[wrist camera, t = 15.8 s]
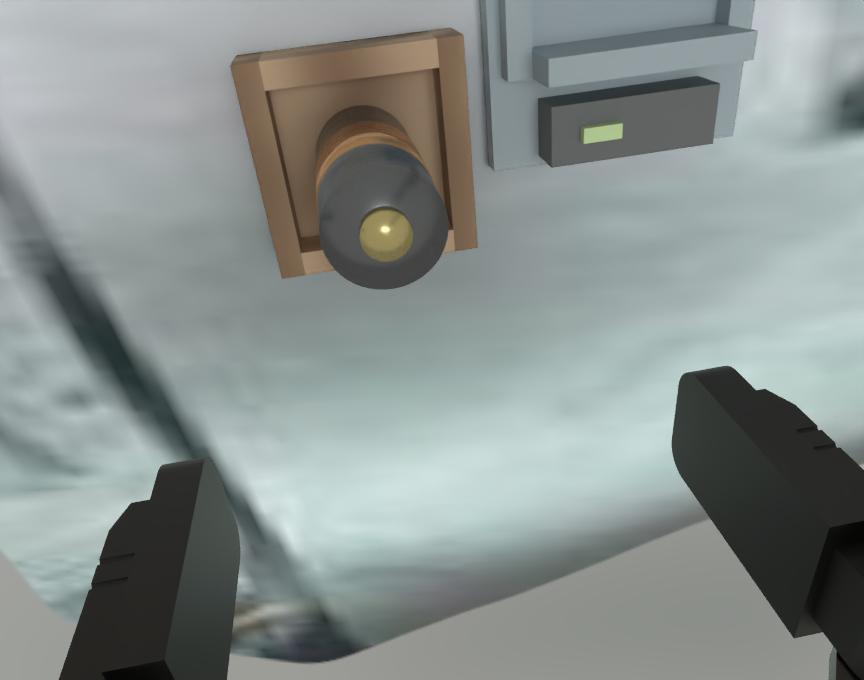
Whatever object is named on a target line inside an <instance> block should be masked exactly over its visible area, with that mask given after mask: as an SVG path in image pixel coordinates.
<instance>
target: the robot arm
mask: <svg viewBox="0 0 864 680" xmlns="http://www.w3.org/2000/svg"><path fill="white" fill-rule="evenodd" d="M672 452H673V457H674V461H675V464H676V467H677V469H678V471H679V473H680V475H681V477H682V478H683V480H684V481H685V483H686V484H687V486H688V487H689V488H690V490H691V491H692V493H693V494H694V496H695V497H696V498H697V500H698V501H699V503H700V504H701V506H702V507H703V509H704V510H705V511H706V513H707V514H708V516H709V517H710V519H711V520H712V521H713V523H714V524H715V526H716V527H717V529H718V530H719V531H720V533H721V534H722V535H723V537H724V539H725V540H726V542H727V543H728V544H729V546H730V547H731V549H732V550H733V551H734V553H735V554H736V556H737V557H738V559H739V560H740V562H741V563H742V564H743V566H744V567H745V568H746V570H747V572H748V573H749V574H750V576H751V577H752V579H753V580H754V581H755V583H756V584H757V586H758V587H759V589H760V590H761V592H762V593H763V595H764V596H765V597H766V599H767V600H768V602H769V603H770V605H771V606H772V608H773V609H774V610H775V612H776V613H777V615H778V616H779V617H780V619H781V620H782V622H783V623H784V625H785V626H786V628H787V629H788V630H789V632H790V633H791V635H792V636H793V638H797V637H802V636H807V635H812V634H816V633H820V632H823V633H824V634H825V635H826V637H827V638H828V639H829V641H830V642H831V643H832V645H833V648H832V651H831V654H830V659H829V680H864V470H863V469H862V468H861V467H860V466H859V465H858V464H857V463H856V462H855V461H854V460H853V459H852V458H851V457H849V456H848V455H847V454H846V453H845V452H844V451H843V450H842V449H841V448H837V447H836V445H835V442H834V441H833V440H832V439H831V438H830V437H828V436H827V435H826V434H825V433H824V432H823V431H822V430H818V428H817V425H816V424H815V423H814V422H813V421H812V420H811V419H810V418H809V417H807V416H806V415H805V414H804V413H803V412H802V411H801V410H800V409H799V408H798V407H797V406H796V405H794V404H793V403H791V402H789V401H787V400H785V399H783V398H781V397H779V396H777V395H775V394H774V393H772V392H770V391H768V390H766V389H762V390H757V391H756V390H755V389H754V388H753V387H752V386H751V385H750V384H749V383H748V382H747V381H746V380H745V379H744V378H743V377H742V376H741V375H740V374H739V373H738V372H737V371H736V370H735V369H734V368H732V367H730V366H722V367H716V368H711V369H705V370H700V371H694V372H688V373H685V374H683V375H682V377H681V379H680V381H679V387H678V395H677V403H676V411H675V419H674V427H673V435H672ZM99 560H100V565H97V568H96V571H95V574H94V577H93V580H92V583H91V585H92V589H91V590H89V592H88V595H87V598H86V601H85V604H84V607H83V610H82V612H81V615H80V618H79V621H78V624H77V627H76V630H75V634H74V636H73V639H72V642H71V645H70V648H69V651H68V654H67V657H66V660H65V663H64V666H63V669H62V672H61V675H60V678H59V680H227V672H228V663H229V655H230V646H231V637H232V628H233V618H234V609H235V600H236V591H237V582H238V573H239V564H240V541H239V533H238V528H237V524H236V521H235V518H234V515H233V512H232V510H231V507H230V504H229V501H228V499H227V496H226V493H225V490H224V488H223V485H222V482H221V479H220V477H219V474H218V471H217V468H216V466H215V463H214V461H213V460H212V459H211V458H210V457H204V458H199V459H193V460H187V461H182V462H176V463H170V464H165V465H162V466H161V467H160V469H159V471H158V473H157V477H156V481H155V484H154V488H153V491H152V495H151V498H150V500H146V501H140V502H135V503H131V504H130V505H129V506H128V508H127V509H126V510H125V511H124V513H123V514H122V515H121V516H120V518H119V519H118V520H117V521H116V523H115V524H114V525H113V526H112V528H111V529H110V530H109V533H108V536H107V539H106V541H105V544H104V547H103V550H102V553H101V556H100V559H99Z"/></svg>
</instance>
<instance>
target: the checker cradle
mask: <svg viewBox="0 0 864 680" xmlns="http://www.w3.org/2000/svg"><path fill="white" fill-rule="evenodd" d="M754 5H755V0H480V8H481V27H482V46H483V64H484V83H485V102H486V121H487V140H488V158H489V166H490V167H491V168H492V169H493V171H500V170H507V169H514V168H520V167H527V166H534V165H541V164H548V165H549V166H551V167H552V168H553V167H559V166H566V165H573V164H579V163H586V162H593V161H599V160H606V159H613V158H619V157H626V156H633V155H639V154H646V153H653V152H659V151H666V150H673V149H679V148H686V147H693V146H699V145H706V144H713V139H715V138H721V137H728V136H733V132H734V125H735V118H736V111H737V103H738V96H739V89H740V82H741V75H742V68H743V61H747V60H753V58H754V52H755V45H756V38H757V31H756V30H751V26H752V19H753V12H754Z"/></svg>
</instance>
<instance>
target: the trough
mask: <svg viewBox="0 0 864 680" xmlns="http://www.w3.org/2000/svg"><path fill="white" fill-rule="evenodd" d="M230 67H231V71H232V75H233V79H234V83H235V87H236V91H237V95H238V100H239V104H240V108H241V112H242V116H243V120H244V124H245V128H246V132H247V136H248V141H249V145H250V149H251V153H252V157H253V161H254V165H255V169H256V173H257V178H258V182H259V186H260V190H261V194H262V198H263V202H264V206H265V210H266V214H267V219H268V223H269V227H270V231H271V235H272V239H273V243H274V247H275V251H276V256H277V260H278V264H279V268H280V272H281V276H282V279H283V278H289V277H295V276H302V275H308V274H314V273H321V272H327V271H333V270H335V269H334V268H333V267H332V265H331V264H330V263H329V261H328V259H327V258H326V256H325V254H324V252H323V249H322V246H321V242H320V236H319V219H318V212H317V205H316V181H315V170H316V144H317V140H318V136H319V134H320V132H321V130H322V128H323V127H324V125H325V124H326V123H327V121H328V120H329V119H330V118H331V117H332V116H334V115H335V114H336V113H338V112H339V111H341V110H343V109H346V108H348V107H352V106H357V105H370V106H374V107H378V108H381V109H383V110H385V111H387V112H389V113H390V114H392V115H393V116H394V117H395V118H396V119H398V120H399V122H400V123H401V124H402V125H403V127H404V128H405V130H406V132H407V134H408V136H409V138H410V139H411V141H412V142H413V143H414V145H415V147H416V148H417V150H418V152H419V154H420V155H421V157H422V159H423V161H424V163H425V165H426V167H427V169H428V170H429V172H430V174H431V177H432V179H433V182H434V185H435V187H436V189H437V191H438V193H439V194H440V196H441V198H442V200H443V203H444V205H445V207H446V211H447V215H448V221H449V231H448V238H447V242H446V246H445V248H444V251H443V253H446V252H452V251H459V250H465V249H471V248H478V246H477V231H476V216H475V201H474V186H473V171H472V156H471V141H470V126H469V111H468V96H467V81H466V66H465V51H464V36H463V35H462V34H461V33H459V32H457V31H455V30H454V29H452V28H445V29H438V30H430V31H422V32H414V33H407V34H399V35H391V36H383V37H376V38H368V39H360V40H353V41H345V42H337V43H329V44H322V45H314V46H306V47H298V48H291V49H283V50H275V51H267V52H260V53H252V54H244V55H237V56H236V57H235V59H234V60H233V62H232V64H231V65H230Z"/></svg>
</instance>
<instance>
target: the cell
mask: <svg viewBox="0 0 864 680" xmlns="http://www.w3.org/2000/svg"><path fill="white" fill-rule="evenodd" d="M315 181H316V205H317V212H318V219H319V236H320V242H321V246H322V249H323V252H324V254H325V256H326V258H327V259H328V261H329V263H330V264H331V265H332V267H333V268H334V269H335V270H336V271H337V272H338V273H339V274H340V275H342V276H343V277H344V278H346V279H347V280H349V281H351V282H353V283H355V284H357V285H360V286H363V287H367V288H372V289H393V288H398V287H402V286H405V285H408V284H410V283H412V282H414V281H416V280H418V279H419V278H421V277H422V276H424V275H425V274H426V273H427V272H428V271H429V270H430V269H431V268H432V267H433V266H434V265H435V264H436V262H437V261H438V260H439V258H440V256H441V255H442V253H443V251H444V248H445V246H446V242H447V238H448V231H449V221H448V215H447V211H446V207H445V205H444V203H443V200H442V198H441V196H440V194H439V193H438V191H437V189H436V187H435V185H434V182H433V179H432V177H431V174H430V172H429V170H428V169H427V167H426V165H425V163H424V161H423V159H422V157H421V155H420V154H419V152H418V150H417V148H416V147H415V145H414V143H413V142H412V141H411V139H410V138H409V136H408V134H407V132H406V130H405V128H404V127H403V125H402V124H401V123H400V122H399V120H398V119H396V118H395V117H394V116H393V115H392V114H390V113H389V112H387V111H385V110H383V109H381V108H378V107H374V106H370V105H357V106H352V107H348V108H346V109H343V110H341V111H339V112H338V113H336V114H335V115H334V116H332V117H331V118H330V119H329V120H328V121H327V123H326V124H325V125H324V127H323V128H322V130H321V132H320V134H319V136H318V140H317V144H316V170H315Z"/></svg>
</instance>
